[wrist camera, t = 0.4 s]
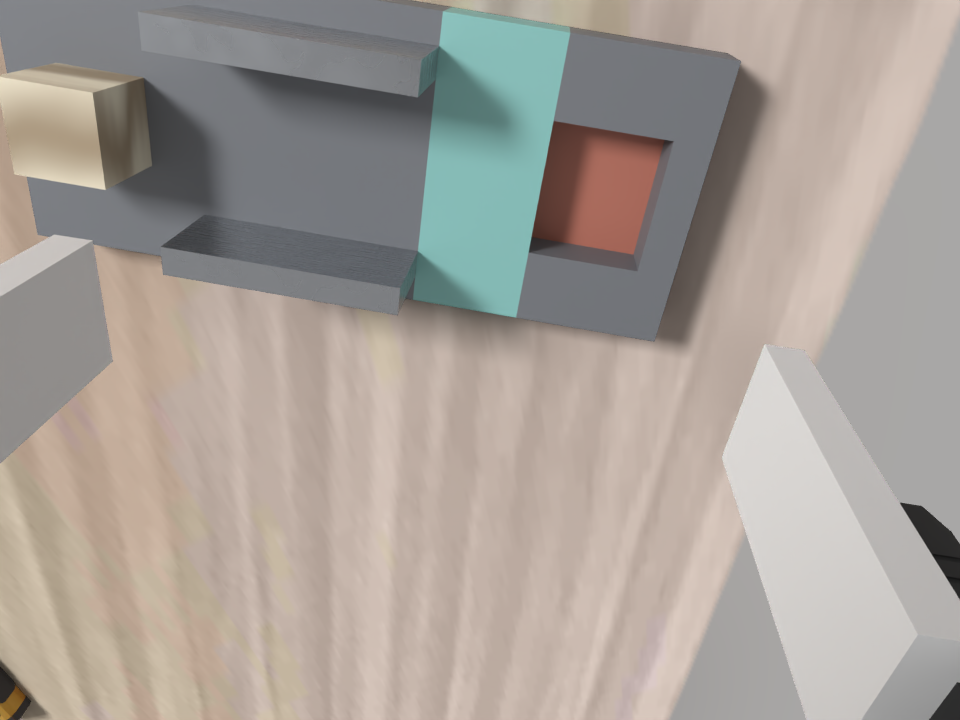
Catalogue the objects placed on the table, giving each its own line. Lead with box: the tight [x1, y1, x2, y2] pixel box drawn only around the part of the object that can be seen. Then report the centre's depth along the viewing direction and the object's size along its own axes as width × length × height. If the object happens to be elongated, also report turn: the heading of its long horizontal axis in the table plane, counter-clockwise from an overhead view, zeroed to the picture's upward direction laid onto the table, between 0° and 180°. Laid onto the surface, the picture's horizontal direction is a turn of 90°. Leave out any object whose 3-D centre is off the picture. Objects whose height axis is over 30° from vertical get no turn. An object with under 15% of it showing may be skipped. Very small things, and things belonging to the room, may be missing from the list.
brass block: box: [0, 63, 152, 190], centre depth 35 cm, size 4×4×4 cm
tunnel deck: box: [0, 0, 741, 341], centre depth 36 cm, size 15×36×8 cm, turn 82°
